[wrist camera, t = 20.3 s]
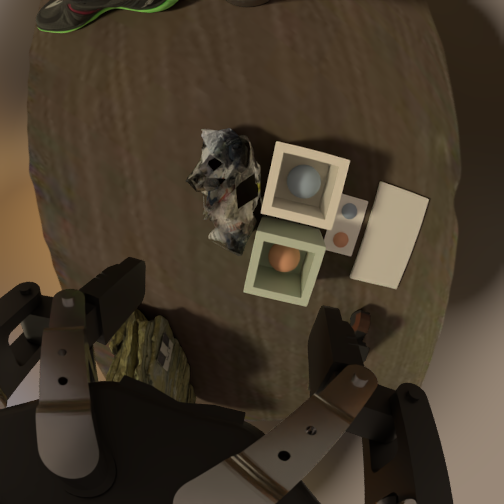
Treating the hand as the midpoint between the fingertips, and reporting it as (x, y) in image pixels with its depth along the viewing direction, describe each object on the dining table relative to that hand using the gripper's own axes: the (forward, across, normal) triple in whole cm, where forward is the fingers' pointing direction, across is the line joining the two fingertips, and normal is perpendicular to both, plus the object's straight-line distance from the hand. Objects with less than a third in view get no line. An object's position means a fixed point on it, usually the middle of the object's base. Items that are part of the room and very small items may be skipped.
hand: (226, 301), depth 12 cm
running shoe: (+30, +36, -32) cm, 57 cm away
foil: (+30, +6, 0) cm, 31 cm away
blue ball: (+27, -4, -3) cm, 28 cm away
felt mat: (+30, -20, +2) cm, 36 cm away
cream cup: (+30, -4, -3) cm, 31 cm away
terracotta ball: (+27, -4, +8) cm, 29 cm away
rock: (+30, +14, +39) cm, 52 cm away
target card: (+30, -12, +2) cm, 32 cm away
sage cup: (+30, -4, +8) cm, 31 cm away
